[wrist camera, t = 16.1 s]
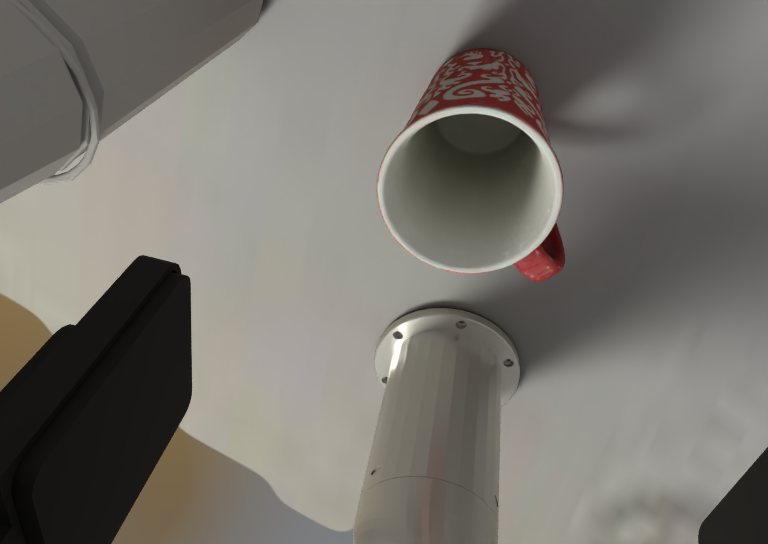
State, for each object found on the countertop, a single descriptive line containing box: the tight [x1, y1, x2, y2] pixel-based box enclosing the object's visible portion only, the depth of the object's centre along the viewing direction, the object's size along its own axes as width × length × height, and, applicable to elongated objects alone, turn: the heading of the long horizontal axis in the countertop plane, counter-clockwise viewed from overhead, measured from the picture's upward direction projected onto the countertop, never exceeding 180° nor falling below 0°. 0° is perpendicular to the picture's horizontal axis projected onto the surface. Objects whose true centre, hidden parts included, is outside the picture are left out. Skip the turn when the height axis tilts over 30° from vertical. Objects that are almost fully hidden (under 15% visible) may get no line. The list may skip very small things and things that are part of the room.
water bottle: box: [0, 0, 263, 203], centre depth 30 cm, size 9×8×25 cm
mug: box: [377, 49, 565, 282], centre depth 36 cm, size 13×9×14 cm
